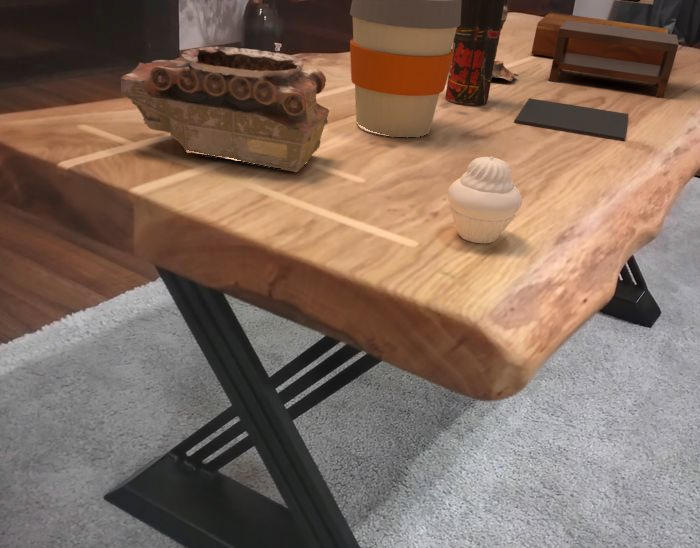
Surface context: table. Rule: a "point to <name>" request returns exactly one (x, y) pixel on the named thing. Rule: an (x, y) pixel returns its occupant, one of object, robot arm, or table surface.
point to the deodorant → (474, 52)
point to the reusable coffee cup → (401, 62)
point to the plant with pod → (498, 67)
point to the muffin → (484, 200)
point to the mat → (574, 119)
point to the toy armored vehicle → (233, 104)
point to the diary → (553, 22)
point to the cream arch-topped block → (641, 1)
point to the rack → (614, 66)
